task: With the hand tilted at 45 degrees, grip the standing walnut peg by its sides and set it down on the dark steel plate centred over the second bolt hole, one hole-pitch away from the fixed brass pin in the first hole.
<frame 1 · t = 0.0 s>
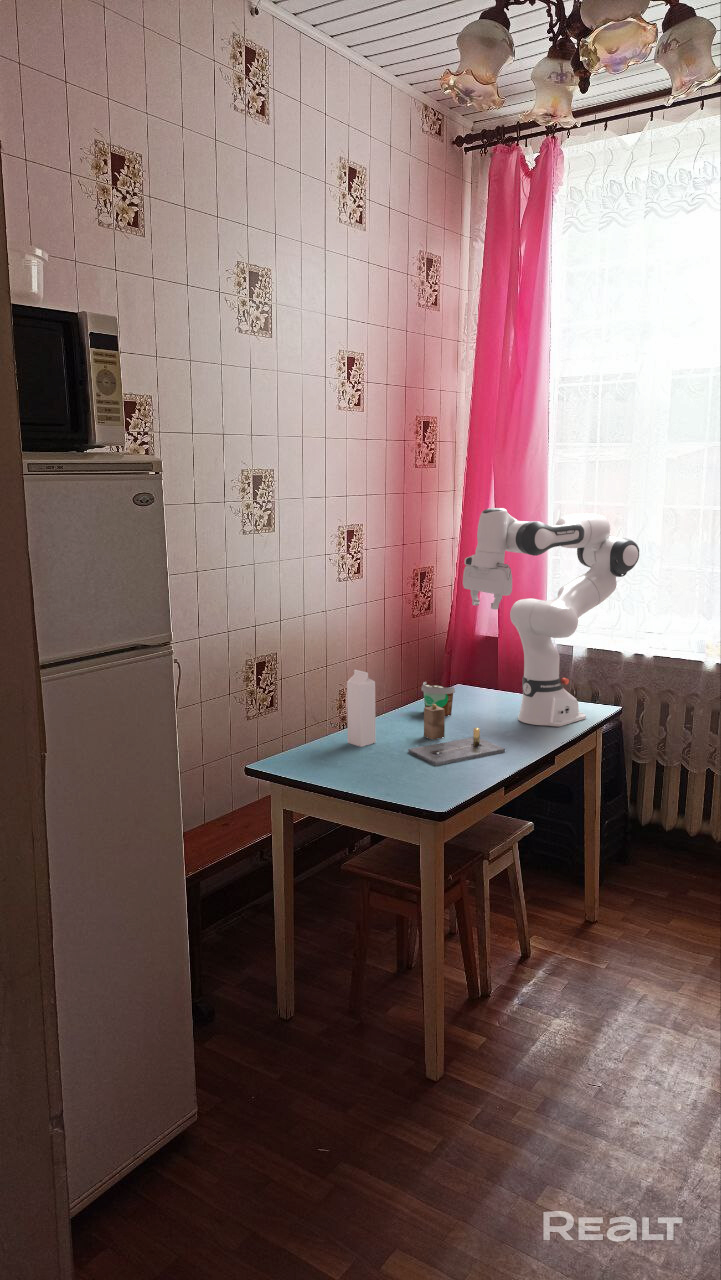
hand: (484, 607, 272), 39 cm above the table, tool pointing down, fingers open, 8 cm apart
milk: (361, 743, 267), on the table
bolt plate: (456, 752, 258), on the table
food container: (434, 715, 298), on the table
walnut peg: (434, 737, 273), on the table
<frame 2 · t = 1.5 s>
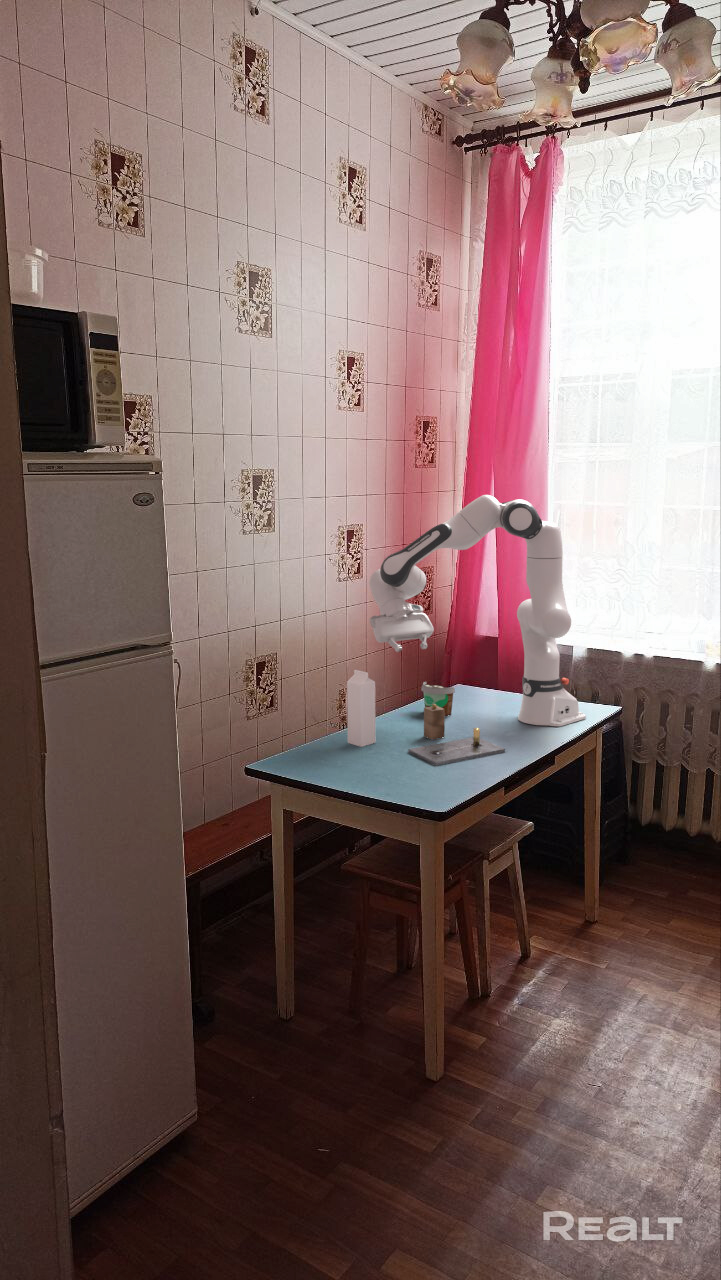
hand: (412, 649, 279), 25 cm above the table, tool tilted 45°, fingers open, 8 cm apart
nothing on the table moved.
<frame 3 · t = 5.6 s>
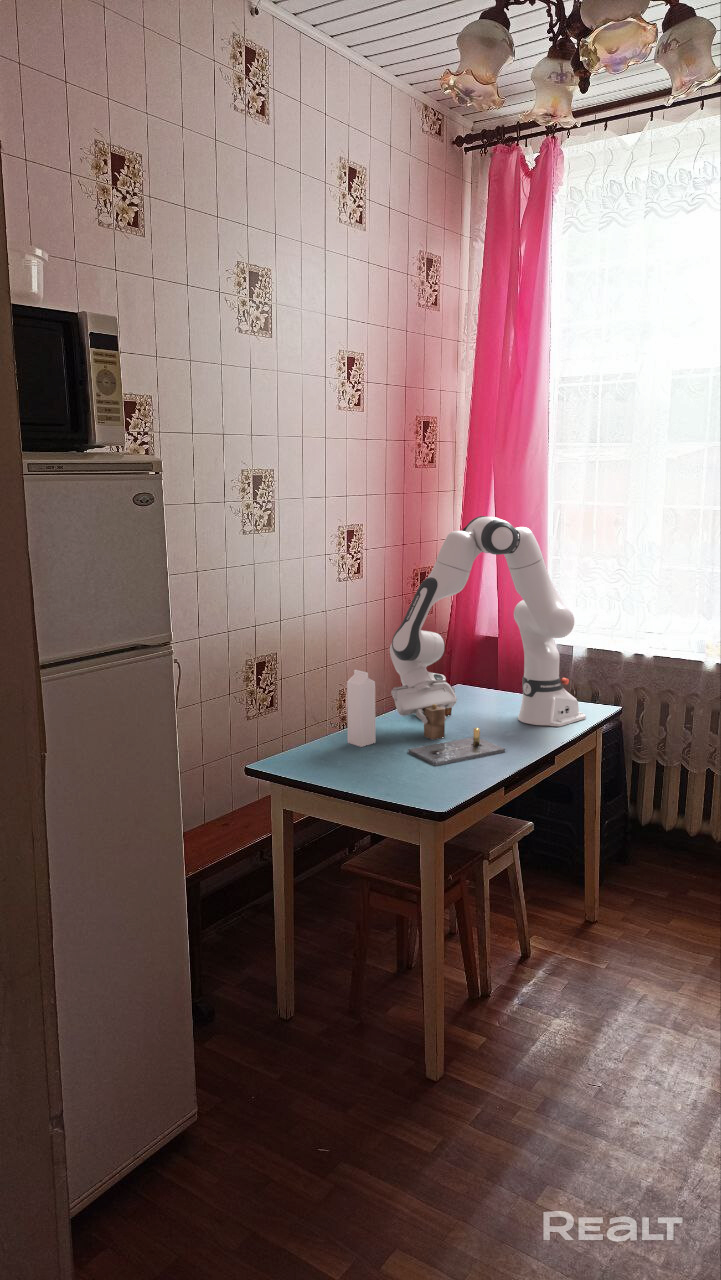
hand: (435, 721, 271), 5 cm above the table, tool tilted 45°, fingers closed on walnut peg, 4 cm apart
walnut peg: (434, 736, 273), on the table, touching gripper
everything else where it was.
when the fingers open (7 cm above the table, at t = 11.4 s): walnut peg stays where it is, resting on bolt plate.
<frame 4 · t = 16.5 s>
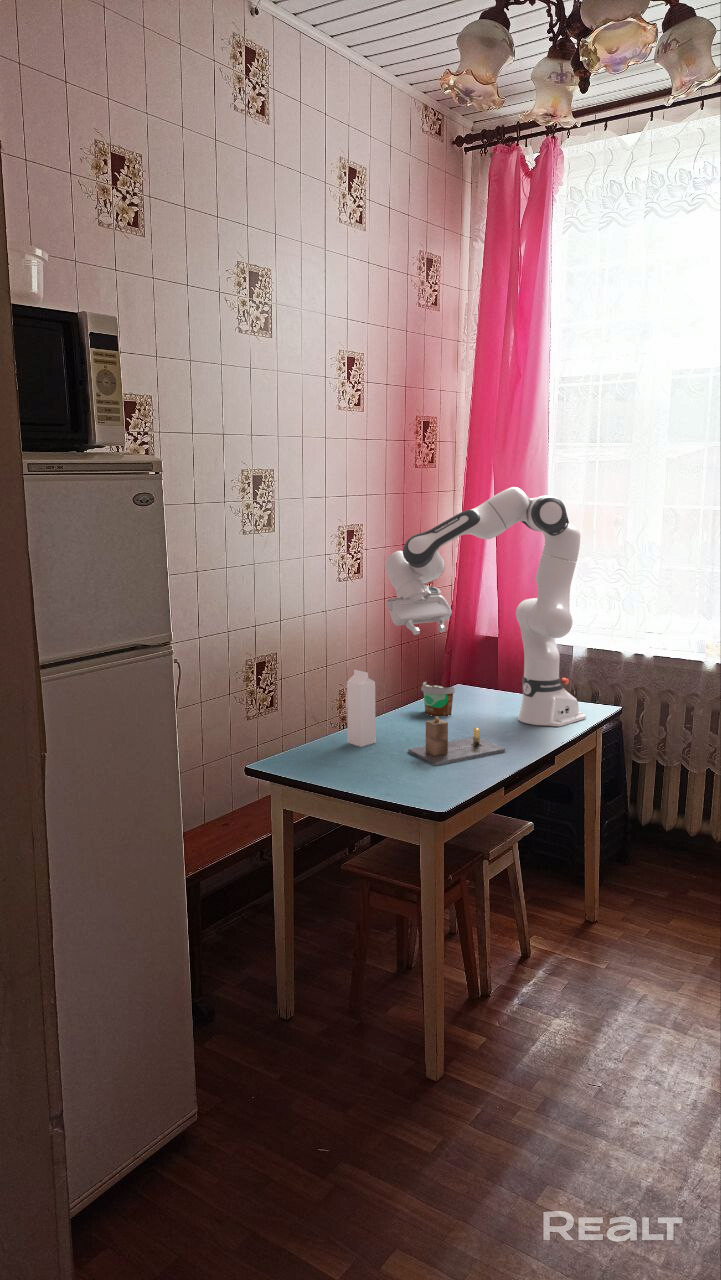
hand: (430, 632, 273), 31 cm above the table, tool tilted 45°, fingers open, 8 cm apart
walnut peg: (436, 752, 254), point 1 cm above the table, touching bolt plate
everything else where it was.
at the end: walnut peg inside the target area (0.1 cm from its centre), point 1.1 cm above the table; walnut peg tilted 0°; the gripper is holding nothing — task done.
